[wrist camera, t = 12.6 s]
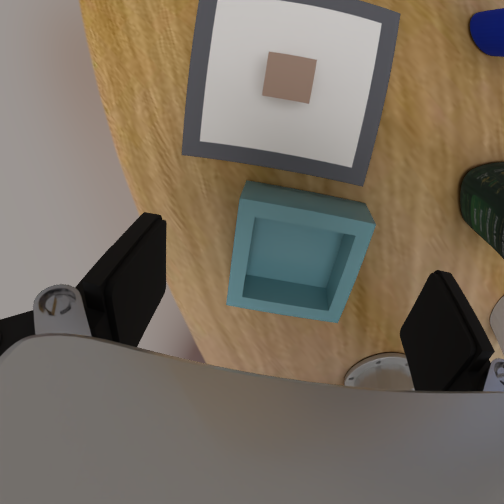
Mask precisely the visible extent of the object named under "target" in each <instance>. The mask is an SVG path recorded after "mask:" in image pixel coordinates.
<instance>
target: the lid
mask: <svg viewBox="0 0 504 504" xmlns="http://www.w3.org/2000/svg"><path fill="white" fill-rule="evenodd" d="M381 25H382V23H379V22H375V21H372V20H369V19H365V18H362V17H358V16H354V15H351V14H347V13H343V12H339V11H335V10H330V9H326V8H321V7H316V6H311V5H306V4H300V3H294V2H287V1H281V0H218V1H217V7H216V13H215V19H214V26H213V33H212V40H211V47H210V54H209V62H208V69H207V77H206V86H205V94H204V103H203V113H202V123H201V133H200V141H202V142H211V143H218V144H226V145H233V146H240V147H247V148H253V149H259V150H265V151H271V152H277V153H283V154H288V155H294V156H299V157H304V158H309V159H314V160H319V161H324V162H328V163H333V164H337V165H342V166H346V167H351V168H352V164H353V160H354V156H355V152H356V148H357V144H358V140H359V136H360V131H361V127H362V123H363V118H364V114H365V109H366V105H367V100H368V95H369V91H370V86H371V81H372V76H373V71H374V65H375V60H376V54H377V49H378V43H379V37H380V31H381Z"/></svg>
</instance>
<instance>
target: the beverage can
mask: <svg viewBox="0 0 504 504" xmlns="http://www.w3.org/2000/svg"><path fill="white" fill-rule="evenodd" d="M470 31H471V35H472V38H473V40H474V42H475V43H476V45H477V46H478V47H479V48H480V49H481V50H482V51H483V52H484V53H486V54H488V55H491V56H502V57H504V8H502V9H495V10H489V11H483V12H478V13H476V14H474V15H473V17H472V18H471V21H470Z"/></svg>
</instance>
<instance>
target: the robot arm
mask: <svg viewBox="0 0 504 504" xmlns="http://www.w3.org/2000/svg"><path fill="white" fill-rule="evenodd" d="M165 289H166V221H165V220H162V217H161V215H157V214H152V213H146V212H144V213H143V214H142V215H141V216H140V217H139V218H138V219H137V220H136V221H135V222H134V223H133V224H132V225H131V226H130V227H129V228H128V230H127V231H126V232H125V233H124V234H123V235H122V236H121V237H120V238H119V239H118V240H117V241H116V243H115V244H114V245H113V246H111V247H110V248H109V249H108V251H106V253H105V254H104V255H103V256H102V257H101V258H100V259H99V260H98V262H97V263H96V264H95V265H94V266H93V267H92V269H91V270H90V271H89V272H88V273H87V274H86V275H85V277H84V278H83V279H82V280H81V281H80V282H79V284H78V285H77V286H76V287H72V286H70V285H63V284H60V285H54V286H51V287H48V288H46V289H44V290H43V291H41V292H40V293H39V294H38V295H37V297H36V298H35V300H34V305H33V311H29V312H26V313H22V314H18V315H15V316H11V317H8V318H4V319H1V320H0V504H504V359H500V358H498V359H494V360H493V361H492V362H491V363H490V361H489V358H490V357H491V356H492V354H493V353H494V352H495V351H494V349H493V347H492V345H491V343H490V341H489V339H488V337H487V335H486V333H485V331H484V329H483V328H482V326H481V324H480V322H479V320H478V318H477V316H476V315H475V313H474V311H473V309H472V307H471V306H470V304H469V302H468V300H467V299H466V297H465V295H464V294H463V292H462V290H461V289H460V287H459V285H458V284H457V282H456V280H455V279H454V277H453V276H452V274H451V273H449V272H444V271H440V270H436V271H435V272H434V273H431V274H430V275H429V277H428V279H427V281H426V283H425V285H424V287H423V289H422V291H421V293H420V295H419V297H418V298H417V300H416V302H415V304H414V306H413V308H412V310H411V311H410V313H409V315H408V317H407V319H406V320H405V322H404V324H403V326H402V328H401V330H400V338H401V341H402V345H403V348H404V352H405V355H404V354H400V353H384V354H378V355H375V356H371V357H369V358H367V359H364V360H362V361H361V362H359V363H357V364H356V365H355V366H353V367H352V368H351V369H350V370H349V371H348V373H347V374H346V376H345V379H344V384H345V386H343V385H333V384H324V383H316V382H308V381H301V380H293V379H287V378H280V377H274V376H267V375H261V374H255V373H250V372H244V371H239V370H234V369H228V368H223V367H219V366H214V365H209V364H204V363H200V362H195V361H191V360H186V359H182V358H178V357H174V356H170V355H165V354H161V353H157V352H154V351H150V350H145V349H142V348H138V347H137V346H138V344H139V341H140V340H141V338H142V336H143V334H144V332H145V330H146V328H147V326H148V324H149V322H150V320H151V318H152V316H153V314H154V312H155V310H156V309H157V306H158V305H159V303H160V301H161V299H162V297H163V295H164V293H165Z"/></svg>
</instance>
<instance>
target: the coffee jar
mask: <svg viewBox="0 0 504 504" xmlns="http://www.w3.org/2000/svg"><path fill="white" fill-rule="evenodd" d="M460 204H461V212H462V216H463V219H464V220H465V222H466V223H467V224H468V225H469V226H470V227H471V228H472V229H473V230H474V231H475V232H476V233H477V234H479V235H480V236H481V237H482V238H483V239H484V240H485V241H486V242H487V243H488V244H490V245H491V246H492V247H493V248H494V249H495V250H496V251H497V252H498V253H499V254H500V256H501V257H502V258H503V259H504V162H500V163H499V162H498V163H491V164H486V165H482V166H480V167H477V168H474V169H472V170H471V171H469V172H468V173H467V174H466V176H465V177H464V179H463V182H462V185H461V192H460Z"/></svg>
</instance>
